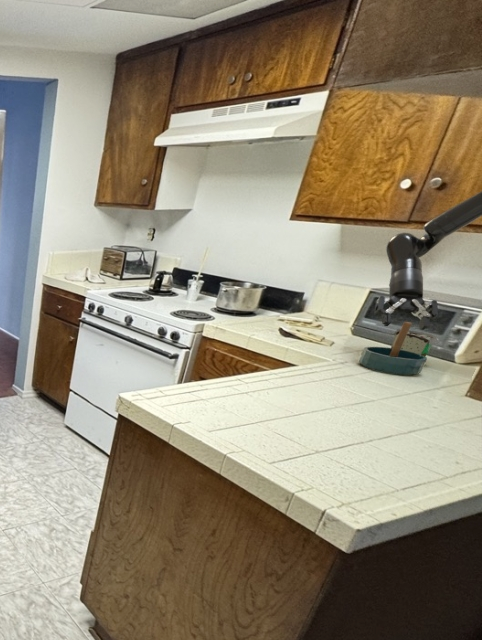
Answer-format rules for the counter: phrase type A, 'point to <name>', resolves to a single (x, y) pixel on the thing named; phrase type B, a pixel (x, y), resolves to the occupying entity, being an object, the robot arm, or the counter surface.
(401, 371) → the bowl
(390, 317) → the robot arm
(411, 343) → the sandwich
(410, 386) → the counter surface
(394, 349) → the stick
